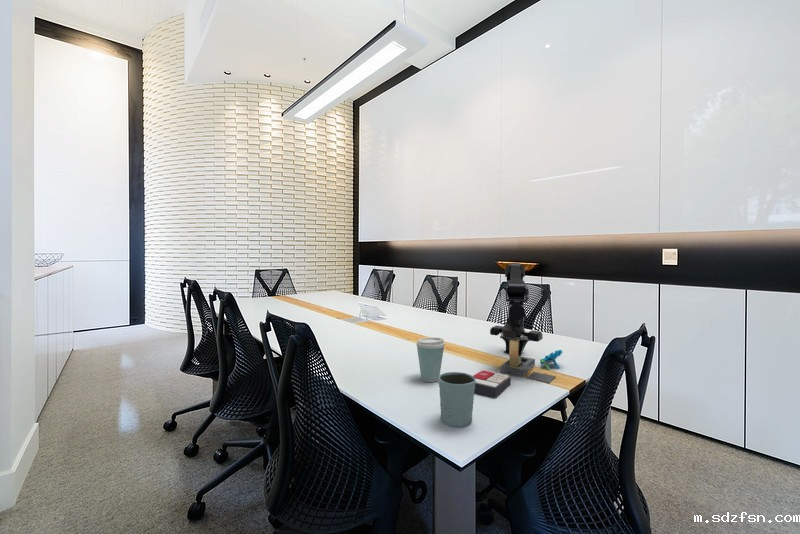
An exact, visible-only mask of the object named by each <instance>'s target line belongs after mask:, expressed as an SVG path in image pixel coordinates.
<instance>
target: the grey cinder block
mask: <svg viewBox="0 0 800 534" xmlns="http://www.w3.org/2000/svg"><path fill="white" fill-rule="evenodd" d="M534 366H535V367H536V359H535V358H531V357H525V356H521V366H519V367H517V366H512V365H509V359H508V360H506V361H504V362H503V363H502V364H500V374H503V375H508V376H512V377H517V378H523V377H524V376H525V375H526V374H527V373H528V371H529V370H530V371H531V370H532V369H534V368H535V367H534ZM530 371H529V372H530Z"/></svg>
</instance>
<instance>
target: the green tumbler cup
mask: <svg viewBox="0 0 800 534" xmlns="http://www.w3.org/2000/svg"><path fill="white" fill-rule="evenodd" d="M475 382H476V379H475V378H474V377H473V375H472V374H469V373H466V372H459V371H449V372H443V373H440V376H439V379H438V388H439V389H438V390H439V398H440V400H439V401H440V402H439V404H440V419H441V422H442V423H443V425H446V426H448V427H450V428H457V429H459V428H460V429H462V428H466V427H469V426H470V425H471V424H472V422H473V411H474V400H475V399H474V398H475V394H474V390H475Z"/></svg>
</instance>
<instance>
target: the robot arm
mask: <svg viewBox="0 0 800 534" xmlns="http://www.w3.org/2000/svg"><path fill="white" fill-rule="evenodd" d="M508 264H509V265H507V266H505V267H504V277H505V278H506V282H507V285H505V302H508V304H507V306H508V309H507V311H508V312H507V313H508V314H507V319H506V321H505V324H504V325H503V326H502V325H494V326H492V327H491V328H490V330H489V334H490V335H491V336H499V335H500V336H499V338H500V339H502V340H503V342H504V343H505V350H504V352H503V353H506V354H509V348H510V340H511V339H519V342H520V347H519V356H521V357H522V355H523V351H525V347H526V345H527V344H528V342H536V343H537V342H539V341H541V340H543V338H544V337H543V332H542V331H539V330H533V329H532V330H530V331H528V332H526V330H525V327H524V325H525V324H524V321H525V320H526V319H525V316H526V310H525V303H528V301H529V297H530V296H529V295H530V293H529V288H528V286H527V285H526V282H525V280H524V278H525V276H526V267H525V266H523V265H522V263H520V262H512V263H508Z"/></svg>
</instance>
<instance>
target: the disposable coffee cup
mask: <svg viewBox="0 0 800 534" xmlns="http://www.w3.org/2000/svg"><path fill="white" fill-rule="evenodd" d="M445 344H446V343H445V341H444V338H443V337H435V336H434V337H433V336H432V337H431V336H430V337H423V338H419V339H418V340H417V341H416V348H417V357H418V364H419V365H418V366H419V372H420V378H421V380H422V381H423V382H427V383H433V382H437V381H438V382H439V376H440V375H441V368H442V363H443V355H444V350H445V346H446V345H445Z"/></svg>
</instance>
